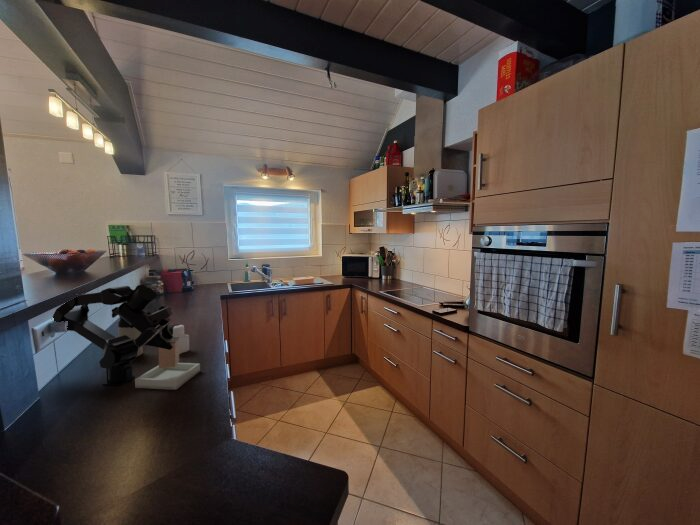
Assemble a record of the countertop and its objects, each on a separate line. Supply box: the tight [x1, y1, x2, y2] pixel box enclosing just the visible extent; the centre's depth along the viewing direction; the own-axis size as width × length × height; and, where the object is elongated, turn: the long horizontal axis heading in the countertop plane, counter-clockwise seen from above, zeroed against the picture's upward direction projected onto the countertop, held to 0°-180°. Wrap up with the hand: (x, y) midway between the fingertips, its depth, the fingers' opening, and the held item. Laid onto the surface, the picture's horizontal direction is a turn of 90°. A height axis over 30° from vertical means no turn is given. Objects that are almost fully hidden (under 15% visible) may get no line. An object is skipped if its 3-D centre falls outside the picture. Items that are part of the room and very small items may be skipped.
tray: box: [134, 362, 201, 391], centre depth 102 cm, size 14×14×3 cm
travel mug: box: [117, 316, 144, 358], centre depth 122 cm, size 8×8×18 cm
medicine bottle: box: [169, 323, 190, 355], centre depth 128 cm, size 7×7×12 cm
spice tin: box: [158, 337, 180, 368], centre depth 102 cm, size 5×5×9 cm
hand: (173, 346), depth 102 cm, fingers closed on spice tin, 5 cm apart
